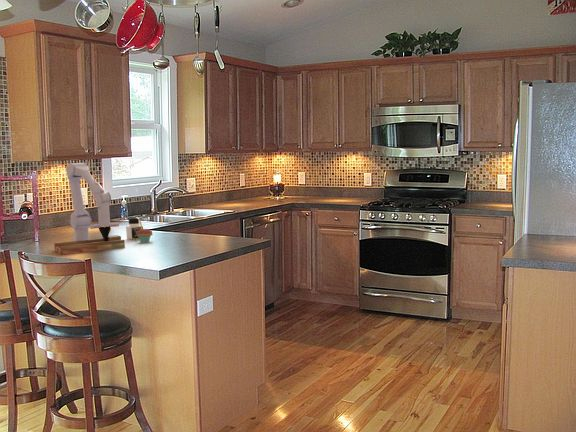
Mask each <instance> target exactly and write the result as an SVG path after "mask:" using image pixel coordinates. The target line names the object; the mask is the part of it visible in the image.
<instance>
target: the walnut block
mask: <svg viewBox="0 0 576 432" xmlns="http://www.w3.org/2000/svg"><path fill="white" fill-rule="evenodd" d="M115 240H122V236H121V235H118V234H115V235H108V240H107V241H115Z"/></svg>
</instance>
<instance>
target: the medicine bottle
mask: <svg viewBox="0 0 576 432" xmlns="http://www.w3.org/2000/svg"><path fill="white" fill-rule="evenodd" d="M140 222H141V221H140V218H139V217H137V216H136V217H135V216H134V217H129V218H128V225H127V226H125V231H126V239H128V240H131V241H133V240H139V237H138V236H137V235H136V233H137V232H138V231H139V230H141V225H140ZM142 229H144V226H143V225H142Z"/></svg>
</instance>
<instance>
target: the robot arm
mask: <svg viewBox="0 0 576 432" xmlns="http://www.w3.org/2000/svg"><path fill="white" fill-rule="evenodd" d="M65 171H66V176H67V180H68V183H69V184H68V185H69V188H70V194H71V200H72V206H73V212H72V213H71V214H70V221H69V222H70V226H71V228H72V229H73V241H82V240H90V231H89V229H90V230H94V229H98V230H99V232H100V235H101V236H102V238H103V240H104V242H106V241H107V240H108V236H110V232H111V231H112V230H111V229H112V227H113V228H114V227H116V228H117V227H120V222H111V219H110V218H111V216H110V214H111V213H110V203H111V200H112V197H111V196H112V195H111V193H110V192H109V191H106V190H105V189H104V188H103V187H102V185H101V184H100V183H99V182H98V181H96V180H95V179H94V177H93V176H92V174H91V173H90V168H89V166H88V163H86V162H75V163H68V164H67V166H66V168H65ZM81 179H83V180H84V181H85V182H86V183H87V185H88V190H89V191H90V192H91V193H92V195H93V196H94V201H95V204H96V205H95V206H96V208H97V217H98V218H97V219H98V223H96V224H92V217H91V216H90V212H89V211H87V210H86V209H85V205H84V200H83V194H82V187H81Z"/></svg>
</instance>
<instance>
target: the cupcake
mask: <svg viewBox="0 0 576 432" xmlns="http://www.w3.org/2000/svg"><path fill="white" fill-rule="evenodd" d="M140 226H141V230H139V231H138V232H137V233H136V235H137V236H138V237H139V239H138V240H139V242H140V243H149V242H150V239H151V236H153V232H152V230H151V229H149V228H143V229H142V226H143V225H142V221H140Z"/></svg>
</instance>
